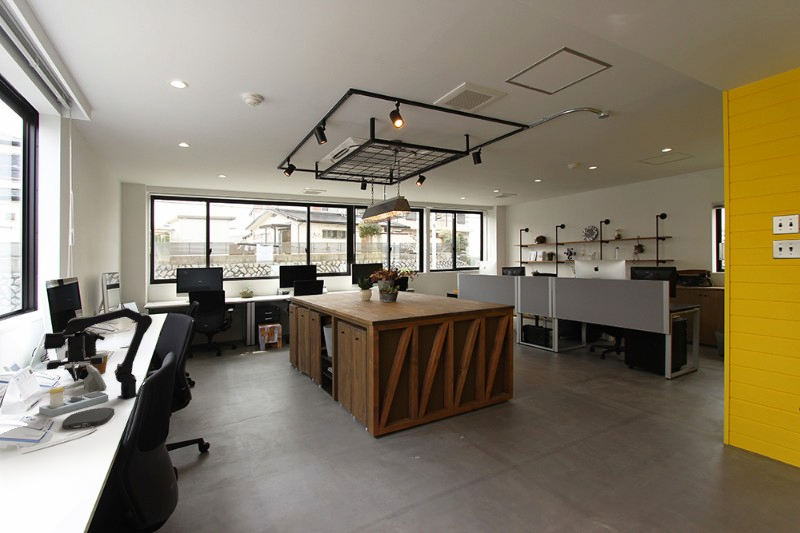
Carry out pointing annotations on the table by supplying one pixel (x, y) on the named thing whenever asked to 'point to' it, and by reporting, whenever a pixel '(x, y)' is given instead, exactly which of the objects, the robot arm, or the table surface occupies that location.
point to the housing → (71, 405)
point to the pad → (94, 394)
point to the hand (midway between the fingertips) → (76, 381)
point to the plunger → (76, 398)
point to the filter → (89, 350)
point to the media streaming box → (88, 418)
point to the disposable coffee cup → (102, 367)
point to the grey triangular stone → (94, 380)
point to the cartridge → (56, 397)
